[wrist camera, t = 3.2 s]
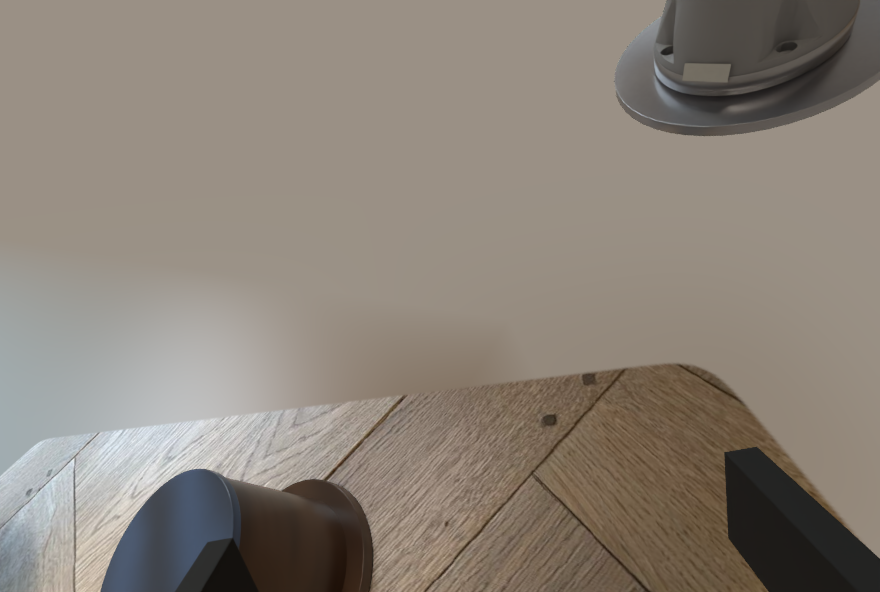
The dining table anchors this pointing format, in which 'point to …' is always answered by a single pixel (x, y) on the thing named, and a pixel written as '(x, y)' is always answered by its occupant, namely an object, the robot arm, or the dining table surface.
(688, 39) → the robot arm
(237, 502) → the pedestal
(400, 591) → the dining table surface
